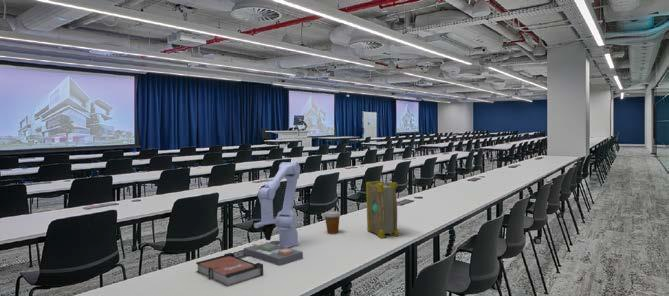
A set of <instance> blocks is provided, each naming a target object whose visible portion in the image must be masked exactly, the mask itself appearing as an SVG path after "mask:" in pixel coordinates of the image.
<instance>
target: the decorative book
mask: <svg viewBox="0 0 669 296" xmlns="http://www.w3.org/2000/svg"><path fill="white" fill-rule="evenodd" d="M386 182H387V181H386ZM365 188H366V189H365V190H366V191H365V193H366V196H365V197H366V228H367V232H368V233H374V234H375V235H376V236H377V237H378V238H379V239H385V234H391V236H393V237H399V236H400V235H399V233H400V232H399V230H398V200H397V193H396V190H397V188H398V182H395V181H393V182H392V181H388V182H387V183H385V182H383V181H382V180H380V181H379V180H378V181H366V182H365Z"/></svg>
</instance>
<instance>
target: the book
mask: <svg viewBox="0 0 669 296" xmlns="http://www.w3.org/2000/svg"><path fill="white" fill-rule="evenodd" d="M195 264H196V265H197V270H196V273H199V274H201V275H203V276H205V277H207V278H208V279H209V280H214V281H215V282H217V283H220V284H222V285H224V286H226V287H230V286H233V285H236V284H239V283H243V282H246V281H249V280H251V279H253V280H254V279H256V278H258V277H262V276H264V263H260V262H256V263H253V262H251V261H248V260H245V259H242V258H240V257H237V256H235V253H232V252H228V253H224V254H223V255H219V256H216V257H212V258H208V259H204V260H200V261H196V263H195Z"/></svg>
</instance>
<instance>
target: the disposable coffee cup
mask: <svg viewBox="0 0 669 296" xmlns="http://www.w3.org/2000/svg"><path fill="white" fill-rule="evenodd" d="M340 216H341V213H340V211H336V210H330V211H325V212H324V218H325V224H326V232H327V234H328V235H336V234H339V227H340Z"/></svg>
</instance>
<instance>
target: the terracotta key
mask: <svg viewBox="0 0 669 296" xmlns="http://www.w3.org/2000/svg"><path fill="white" fill-rule="evenodd" d="M290 249H291V248H290ZM290 249H282V250H279V251H278V254H279V255H283V256H286V255H290V254H293V250H290Z"/></svg>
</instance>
